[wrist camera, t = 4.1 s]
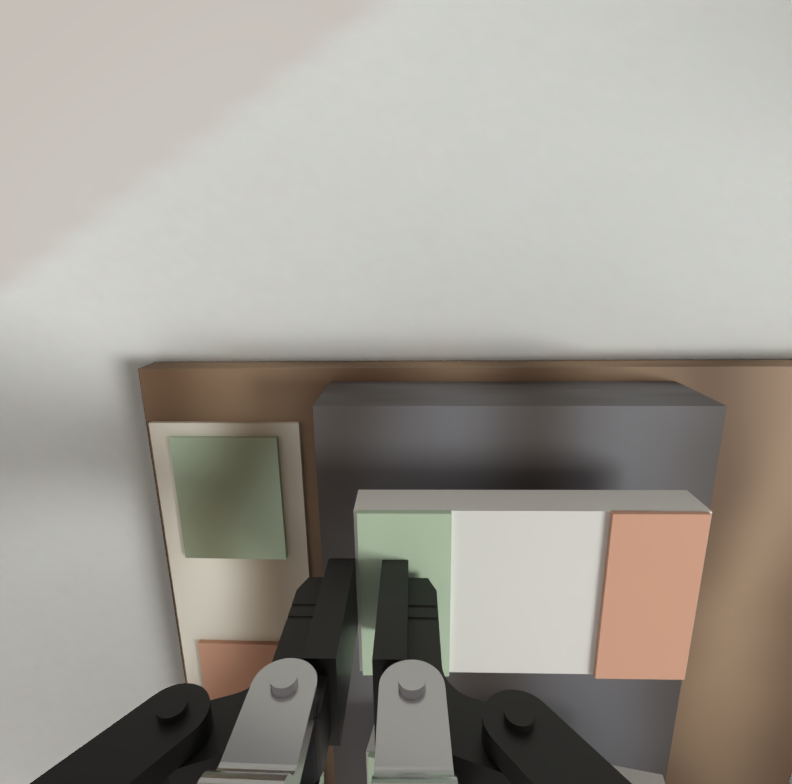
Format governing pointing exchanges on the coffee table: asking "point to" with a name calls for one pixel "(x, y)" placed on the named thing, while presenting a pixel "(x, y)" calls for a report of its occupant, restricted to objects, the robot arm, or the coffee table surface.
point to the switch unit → (489, 470)
